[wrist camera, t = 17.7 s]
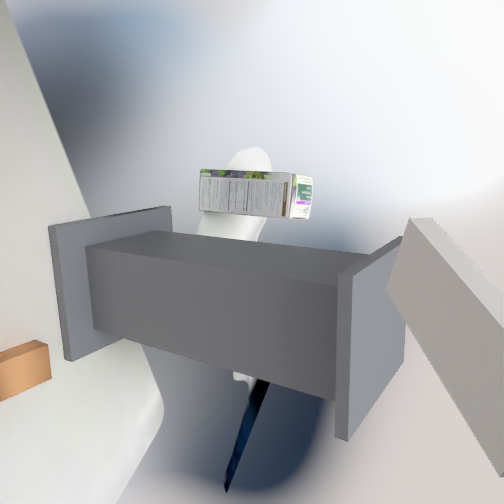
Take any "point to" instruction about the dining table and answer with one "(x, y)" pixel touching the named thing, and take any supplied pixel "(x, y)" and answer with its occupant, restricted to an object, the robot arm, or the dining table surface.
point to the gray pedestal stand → (233, 305)
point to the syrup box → (256, 193)
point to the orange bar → (23, 368)
